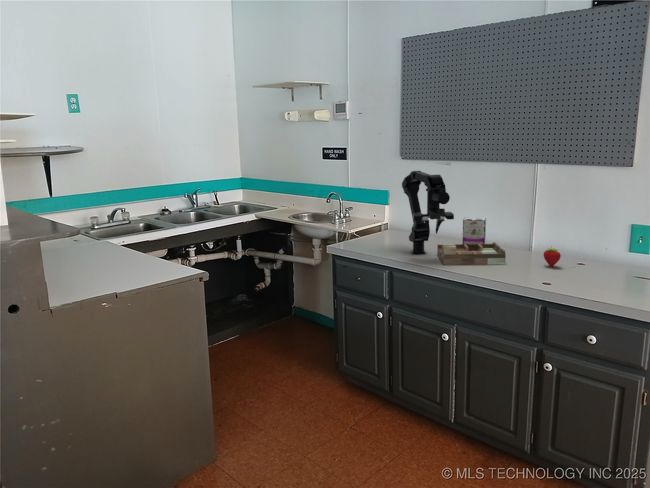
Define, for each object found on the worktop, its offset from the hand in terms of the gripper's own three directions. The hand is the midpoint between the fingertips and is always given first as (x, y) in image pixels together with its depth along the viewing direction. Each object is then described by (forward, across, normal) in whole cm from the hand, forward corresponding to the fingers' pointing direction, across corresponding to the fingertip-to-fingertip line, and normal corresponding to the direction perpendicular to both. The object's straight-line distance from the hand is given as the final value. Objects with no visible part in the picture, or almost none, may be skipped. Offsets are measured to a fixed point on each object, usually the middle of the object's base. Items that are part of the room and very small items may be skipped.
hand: (432, 233), depth 243 cm
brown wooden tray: (+13, +18, 0) cm, 22 cm away
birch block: (+10, +8, 0) cm, 13 cm away
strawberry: (+13, +51, -15) cm, 55 cm away
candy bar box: (+13, +24, +19) cm, 33 cm away
